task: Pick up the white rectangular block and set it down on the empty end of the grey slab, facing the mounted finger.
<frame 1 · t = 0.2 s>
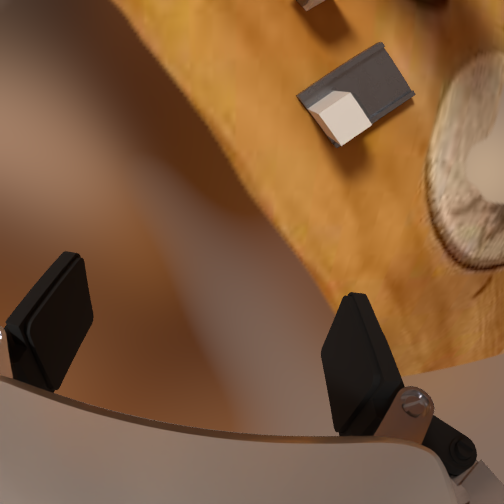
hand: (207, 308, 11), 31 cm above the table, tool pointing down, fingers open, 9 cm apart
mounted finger: (328, 112, 35), resting on grey slab
grey slab: (356, 93, 34), on the table
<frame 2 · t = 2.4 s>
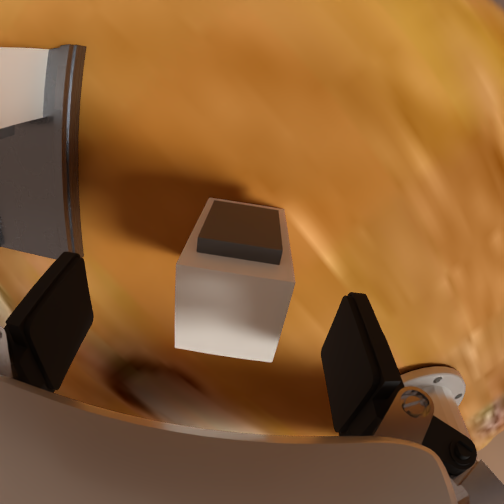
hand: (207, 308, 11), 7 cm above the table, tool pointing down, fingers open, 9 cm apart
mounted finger: (31, 85, 13), resting on grey slab
white rectangular block: (241, 236, 18), on the table
grey slab: (29, 155, 15), on the table
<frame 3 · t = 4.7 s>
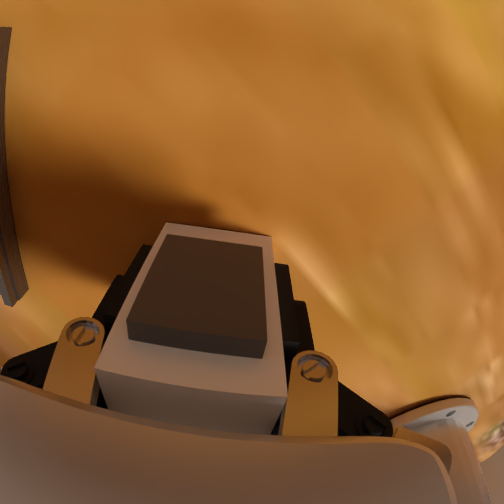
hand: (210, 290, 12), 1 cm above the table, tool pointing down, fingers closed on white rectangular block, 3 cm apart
white rectangular block: (213, 273, 13), on the table, touching gripper
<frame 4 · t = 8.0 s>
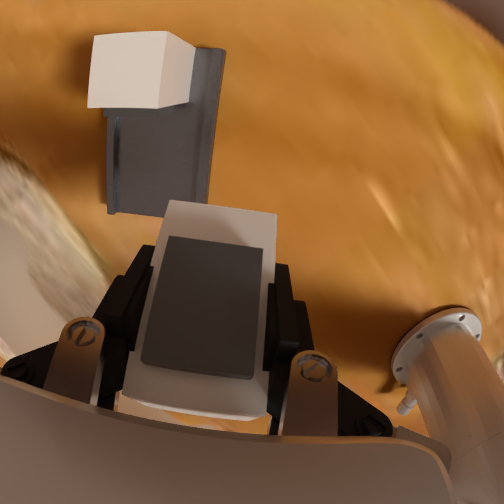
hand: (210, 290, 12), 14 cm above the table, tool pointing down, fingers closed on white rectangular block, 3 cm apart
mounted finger: (167, 74, 19), resting on grey slab
white rectangular block: (220, 237, 13), point 11 cm above the table, tilted 28°, touching gripper
grey slab: (162, 132, 22), on the table
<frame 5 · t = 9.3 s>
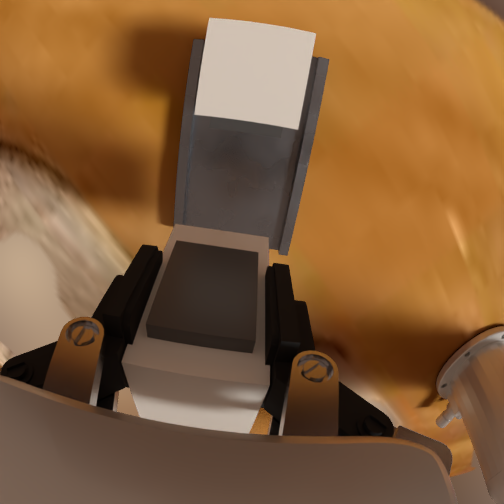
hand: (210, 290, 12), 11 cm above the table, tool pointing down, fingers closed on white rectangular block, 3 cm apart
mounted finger: (256, 78, 17), resting on grey slab
white rectangular block: (217, 266, 15), point 8 cm above the table, tilted 7°, touching gripper
grey slab: (245, 146, 19), on the table
when the fingers open (4 cm above the table, at t = 11.0 s): white rectangular block stays where it is, resting on grey slab.
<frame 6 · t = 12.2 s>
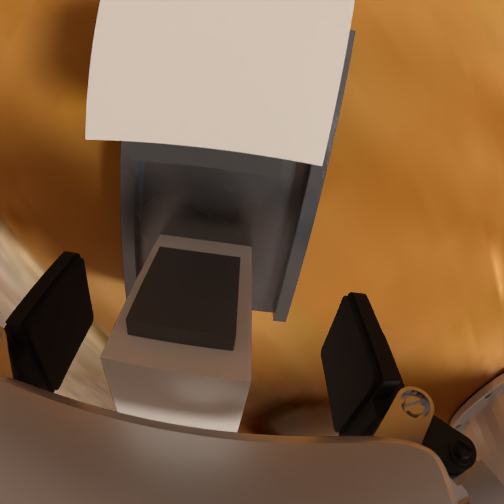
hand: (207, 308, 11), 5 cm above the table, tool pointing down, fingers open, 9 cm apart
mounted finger: (238, 62, 11), resting on grey slab
white rectangular block: (201, 278, 14), point 1 cm above the table, touching grey slab
grey slab: (222, 167, 13), on the table
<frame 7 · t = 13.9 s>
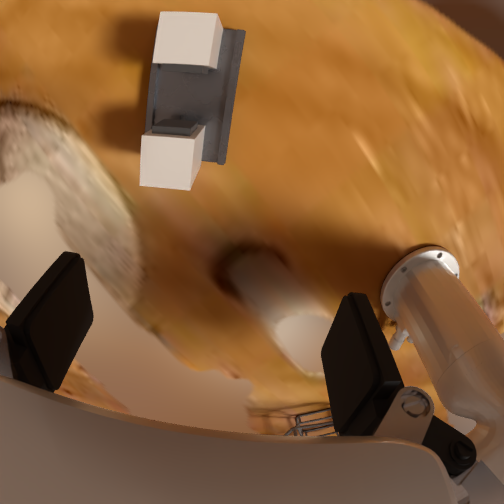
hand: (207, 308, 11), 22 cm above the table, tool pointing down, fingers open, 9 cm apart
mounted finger: (199, 47, 24), resting on grey slab
white rectangular block: (182, 143, 28), point 1 cm above the table, touching grey slab
geometric lantern: (315, 417, 57), on the table
grey slab: (192, 92, 27), on the table
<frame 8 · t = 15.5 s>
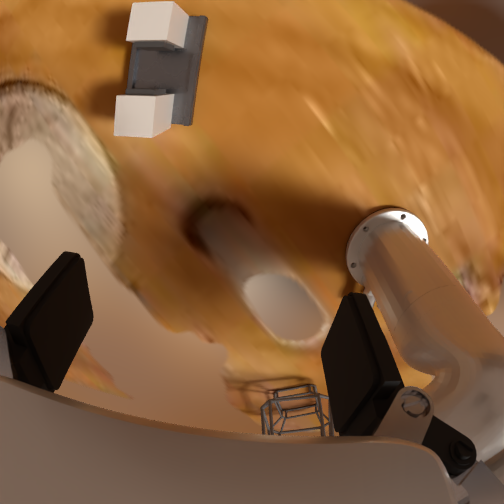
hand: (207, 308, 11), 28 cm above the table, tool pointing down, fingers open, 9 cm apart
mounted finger: (171, 32, 28), resting on grey slab
white rectangular block: (155, 109, 32), point 1 cm above the table, touching grey slab
geometric lantern: (294, 394, 59), on the table
grey slab: (165, 68, 30), on the table
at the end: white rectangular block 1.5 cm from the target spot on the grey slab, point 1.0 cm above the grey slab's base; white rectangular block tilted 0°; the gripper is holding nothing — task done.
